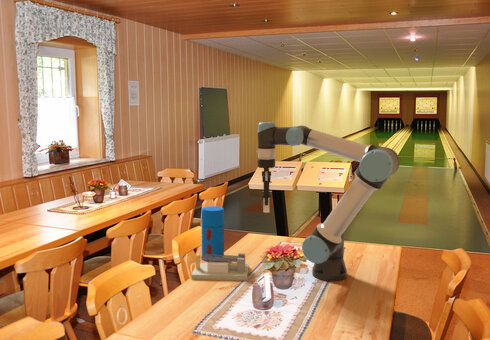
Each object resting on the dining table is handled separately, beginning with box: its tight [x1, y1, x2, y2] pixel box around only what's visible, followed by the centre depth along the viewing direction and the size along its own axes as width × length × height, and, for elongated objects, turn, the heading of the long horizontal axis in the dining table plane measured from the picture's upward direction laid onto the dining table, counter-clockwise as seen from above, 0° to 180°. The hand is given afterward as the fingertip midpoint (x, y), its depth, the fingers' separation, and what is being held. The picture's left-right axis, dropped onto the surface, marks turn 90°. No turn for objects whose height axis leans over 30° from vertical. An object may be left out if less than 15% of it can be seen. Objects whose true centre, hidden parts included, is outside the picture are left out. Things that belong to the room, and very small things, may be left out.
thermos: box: [201, 205, 225, 263], centre depth 235 cm, size 11×11×25 cm
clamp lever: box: [200, 253, 244, 263], centre depth 215 cm, size 18×4×2 cm, turn 87°
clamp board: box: [190, 253, 250, 281], centre depth 216 cm, size 24×16×8 cm, turn 87°
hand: (266, 212), depth 211 cm, fingers closed
